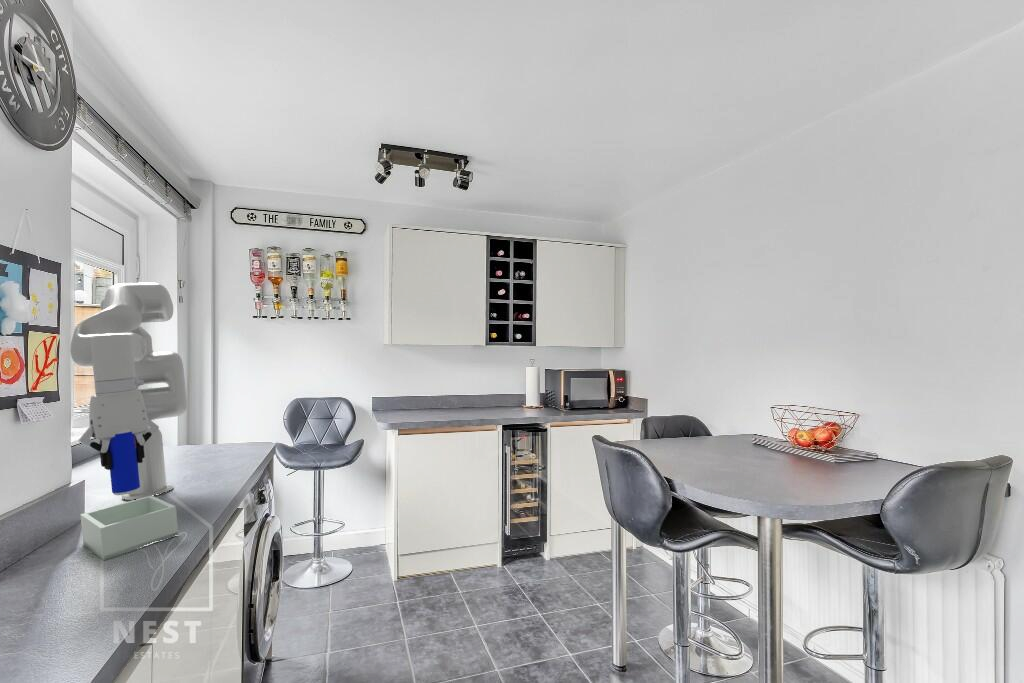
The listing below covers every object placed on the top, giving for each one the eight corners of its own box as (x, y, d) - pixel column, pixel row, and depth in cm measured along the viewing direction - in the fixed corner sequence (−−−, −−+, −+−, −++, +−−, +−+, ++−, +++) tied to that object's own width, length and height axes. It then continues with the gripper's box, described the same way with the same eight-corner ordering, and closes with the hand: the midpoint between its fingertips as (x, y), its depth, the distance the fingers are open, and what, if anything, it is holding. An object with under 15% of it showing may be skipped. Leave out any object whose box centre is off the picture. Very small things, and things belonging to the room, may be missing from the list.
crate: (83, 544, 117) (80, 514, 117) (154, 522, 128) (151, 495, 128) (103, 560, 107) (100, 528, 107) (178, 535, 118) (175, 506, 118)
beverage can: (145, 488, 119) (139, 425, 118) (122, 496, 114) (116, 430, 113) (130, 487, 120) (124, 425, 120) (106, 495, 115) (100, 430, 115)
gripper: (153, 382, 125) (160, 454, 126) (63, 392, 112) (71, 473, 112) (165, 382, 120) (172, 458, 121) (72, 393, 107) (80, 478, 108)
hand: (123, 464), depth 117 cm, fingers closed on beverage can, 5 cm apart
